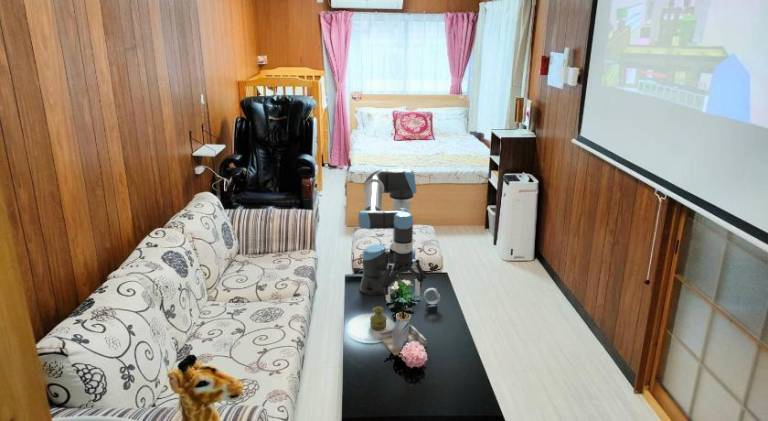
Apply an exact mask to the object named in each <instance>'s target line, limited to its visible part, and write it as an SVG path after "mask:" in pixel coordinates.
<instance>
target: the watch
mask: <svg viewBox="0 0 768 421" xmlns="http://www.w3.org/2000/svg"><path fill="white" fill-rule="evenodd" d="M431 291H433V292H434V294H435V296H436V298H437V299H435V300H428V299H427V296H426V295H427V293H428V292H431ZM423 298H424V300H425V308H426V310H427V313H429V314H430V313H438V303H439V302H440V300H441V295H440V293H439V292H438V290H437V288H436V287H435V288H434V287H427V289H425V290H424V292H423Z"/></svg>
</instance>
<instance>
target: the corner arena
mask: <svg viewBox="0 0 768 421" xmlns="http://www.w3.org/2000/svg"><path fill="white" fill-rule="evenodd" d="M392 329H393V328H392ZM392 329H388V330H387V329H386V330H381V331H380V333H379V334H380V335H379V336H380V337H379V338H380V341H381V342H382V343H383V345H385V346H386V348H387V349H388V350H389V351H390V352H391V353H392V354H393V355H394V356H398V355H400V354H399V353H400V350H401V349H402V348H397V347H393V339H392ZM410 341H418V342H420V343H421V344H422V345H423V346H425V348H427V347H428V346H427V344H428V343H427V341H428V339H427V338H426V337H425V336H424V335H423V334H421V333H420V331H418V330H417V328H416V327H414V325H412V324H409V339H408V341H407V342H410ZM407 342H406V343H407Z"/></svg>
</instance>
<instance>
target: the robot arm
mask: <svg viewBox="0 0 768 421" xmlns="http://www.w3.org/2000/svg"><path fill="white" fill-rule="evenodd" d="M416 185H417V184H416V177H415V171H414V170H413V169H407V168H406V169H405V168H398V169H397V168H396V169H395V168H393V169H392V168H391V169H387V168H384V169H378V170H376V171H374V172H372V173H371V174H370V175H369V176H368V177H367V178H366V180H365V181H364V184H363V191H364V194H365V195H364V197H365V198H364V206H363V207H364V208H363V210H360V211H358V217H357V218H358V220H357V221H358V228H359V229H363V230H366V229H367V230H374V229H376V230H379V229H380V230H386V229H387V230H392V243H390V244H389V248H387V247H386V246H385V245H383V244H372V245H369V246H367V247H365V248H364V249H363V251H362V258H361V259H362V278H361V281H360V284H359V290H360V292H361V293H362V294H364V295H367V296H382V295H383V294H384V295H385V301H386V302H388V303H390V304H391V287H390V286H391V284H392V283H393V282H394V280H395V279H396V277H397V276H399V274H402V273H403V274H404V273H408V272H410V274H412V275H413V276H414V277H415V278H416V279H414V281H415V283H414V293H415V294H414V295H416V296H417V297H420V296H421V294H420V293H421V288H422V284H423V282H424V280H426V278H427V276H426V274H425V272H424V270H423V269H422V266H421V265H420V263H421V262H420V259H418V258H417V257H416V249H415V248H413V240H414V239H413V236H414V235H413V233H414V230H413V228H414V219H413V218H414V217H413V216H414V215H413V214H412V213H411V200H412V199H413V198H414V195H415V194H417V187H416ZM383 194H389V198H390V199H391V200H392V210H383V209H382V204H383V203H382V201H383ZM414 266H415V268H416V270H417V271H418V273H419V274H418V273H417V272H416V271H415V270H414Z"/></svg>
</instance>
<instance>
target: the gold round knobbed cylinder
mask: <svg viewBox="0 0 768 421" xmlns="http://www.w3.org/2000/svg"><path fill="white" fill-rule="evenodd" d="M384 310H385V308H384V307H382V306H379V305H378V306H374V307H373V308H372V312H374V314H373V315H371V316H370V318H369V320H370V322H369V324H370V325H369V326H370V329H371V330H373V331H380V332H381V331H385V329H386V328H387V320H388V319H387V316H386V315H384V314H383V312H384Z"/></svg>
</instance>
